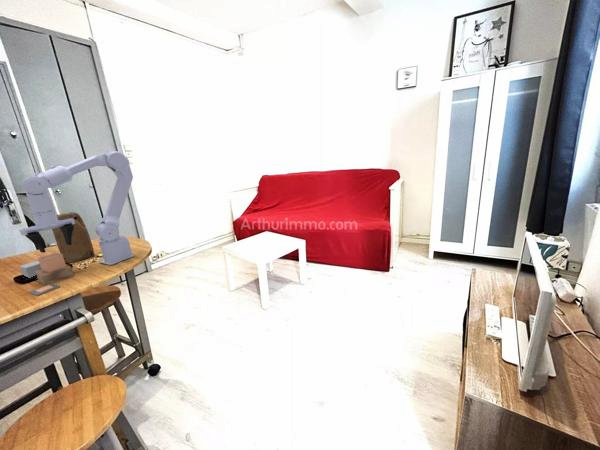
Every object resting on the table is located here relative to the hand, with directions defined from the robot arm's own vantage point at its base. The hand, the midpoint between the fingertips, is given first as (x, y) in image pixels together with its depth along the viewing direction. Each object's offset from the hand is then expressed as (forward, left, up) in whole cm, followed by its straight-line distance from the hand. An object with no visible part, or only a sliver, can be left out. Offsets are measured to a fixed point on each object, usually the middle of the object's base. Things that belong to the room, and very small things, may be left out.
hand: (56, 248), depth 95 cm
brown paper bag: (-11, -14, -11) cm, 21 cm away
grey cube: (+5, -10, -10) cm, 15 cm away
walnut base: (+3, +1, -11) cm, 11 cm away
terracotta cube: (+3, +1, -7) cm, 7 cm away
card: (+9, +8, -10) cm, 16 cm away
